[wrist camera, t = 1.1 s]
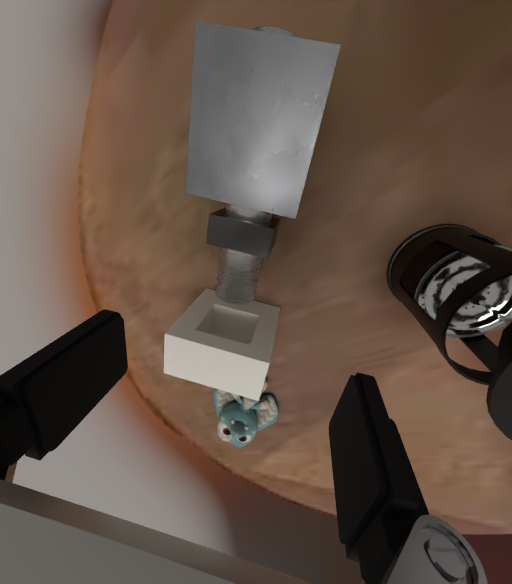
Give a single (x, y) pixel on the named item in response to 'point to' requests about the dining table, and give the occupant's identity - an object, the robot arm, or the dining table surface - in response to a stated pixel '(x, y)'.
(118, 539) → the robot arm
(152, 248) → the dining table surface
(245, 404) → the stuffed animal
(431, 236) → the french press
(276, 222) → the rod
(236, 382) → the socket
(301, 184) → the grey metal block
